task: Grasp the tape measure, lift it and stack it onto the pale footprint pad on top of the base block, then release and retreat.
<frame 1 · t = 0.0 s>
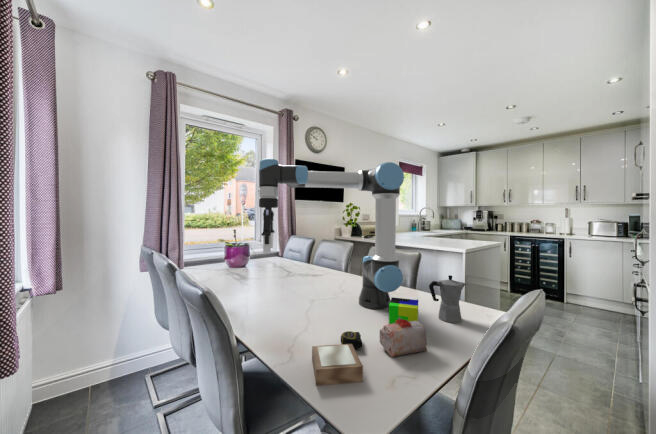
hand: (268, 250, 109), 28 cm above the table, fingers open, 13 cm apart
tape measure: (353, 346, 88), on the table
food item: (402, 351, 85), on the table
puzzle toy: (403, 329, 101), on the table
coffeepot: (447, 319, 111), on the table
base block: (335, 370, 74), on the table
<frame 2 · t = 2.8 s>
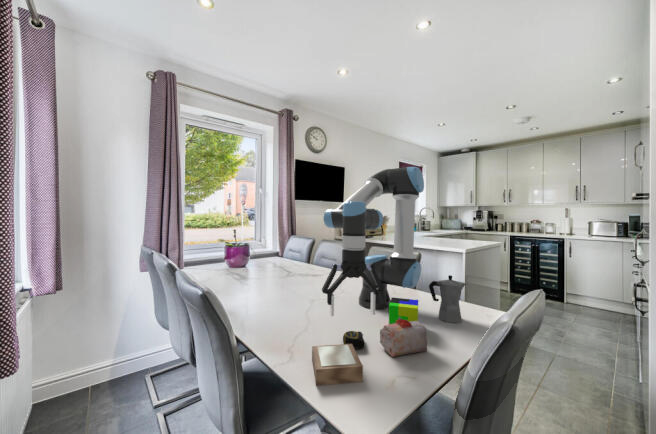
hand: (352, 314, 87), 10 cm above the table, fingers open, 13 cm apart
nothing on the table moved.
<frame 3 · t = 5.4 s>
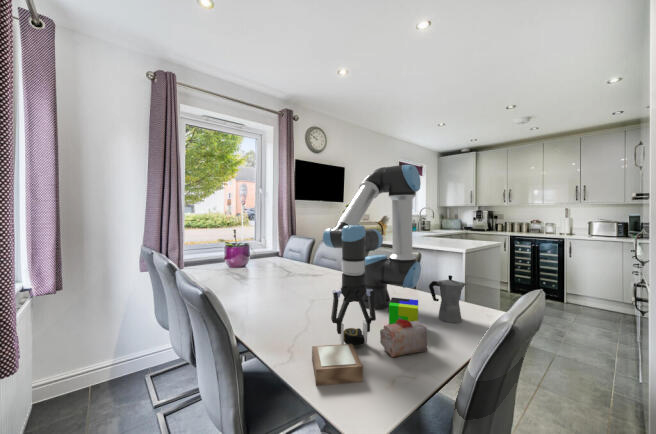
hand: (353, 342, 88), 1 cm above the table, fingers closed on tape measure, 7 cm apart
tape measure: (354, 342, 89), on the table, touching gripper
everything else where it was.
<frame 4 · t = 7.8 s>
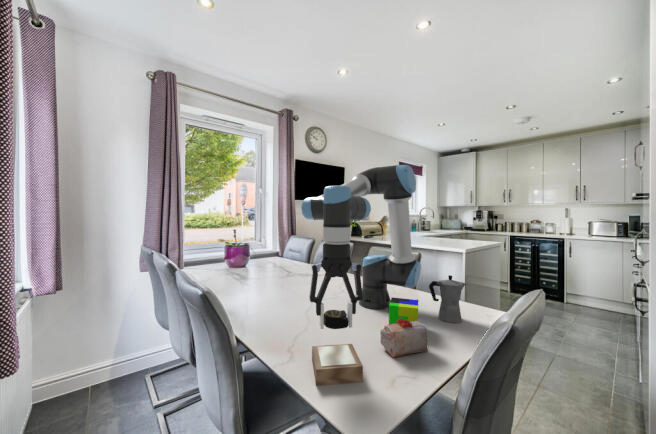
hand: (335, 326, 74), 12 cm above the table, fingers closed on tape measure, 7 cm apart
tape measure: (337, 327, 74), point 12 cm above the table, touching gripper
everything else where it was.
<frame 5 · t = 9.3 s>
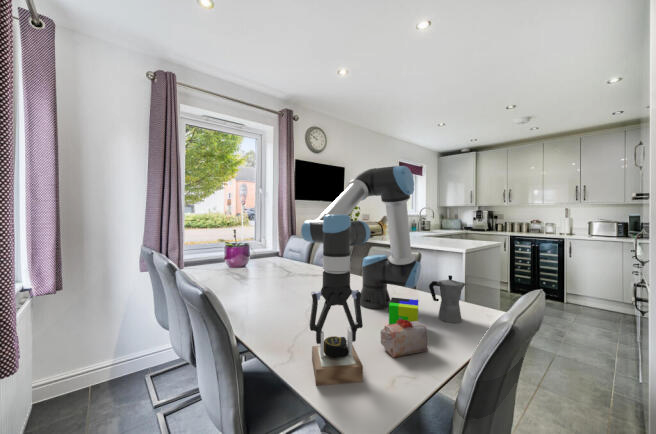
hand: (335, 353, 74), 4 cm above the table, fingers closed on tape measure, 7 cm apart
tape measure: (337, 354, 74), point 4 cm above the table, touching gripper
everything else where it was.
when the fingers open (4 cm above the table, at t = 9.8 s): tape measure stays where it is, resting on base block.
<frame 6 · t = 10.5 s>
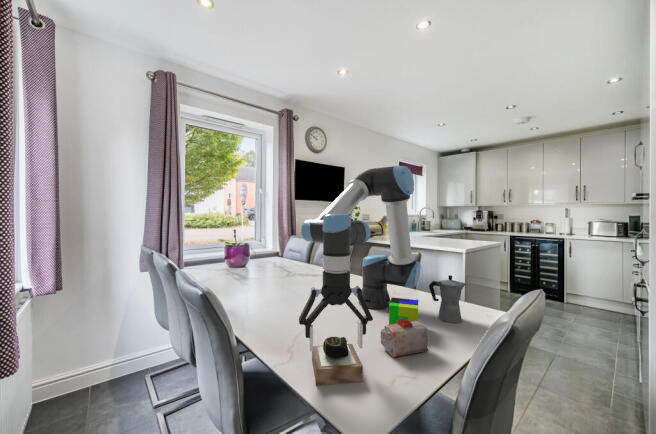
hand: (335, 347, 74), 6 cm above the table, fingers open, 13 cm apart
tape measure: (337, 354, 74), point 4 cm above the table, touching base block
everything else where it was.
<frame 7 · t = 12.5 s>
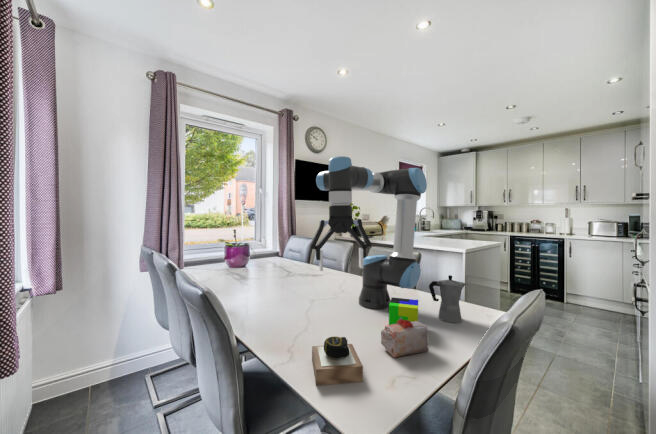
hand: (341, 268, 89), 25 cm above the table, fingers open, 13 cm apart
nothing on the table moved.
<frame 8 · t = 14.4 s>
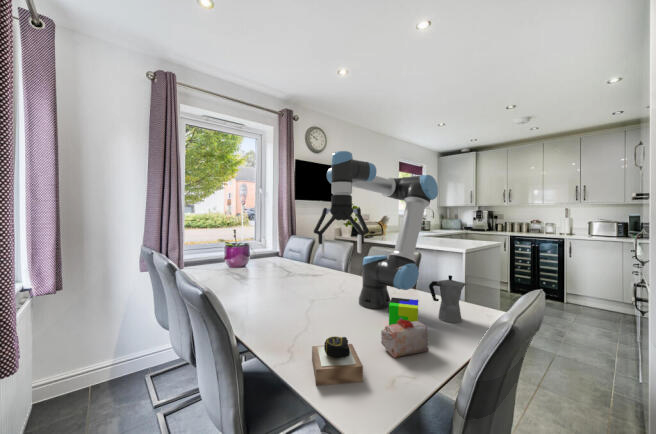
hand: (341, 253, 98), 29 cm above the table, fingers open, 13 cm apart
nothing on the table moved.
at the end: tape measure inside the target area on the base block (1.1 cm from its centre), point 4.0 cm above the base block's base; tape measure touching base block; the gripper is holding nothing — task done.
